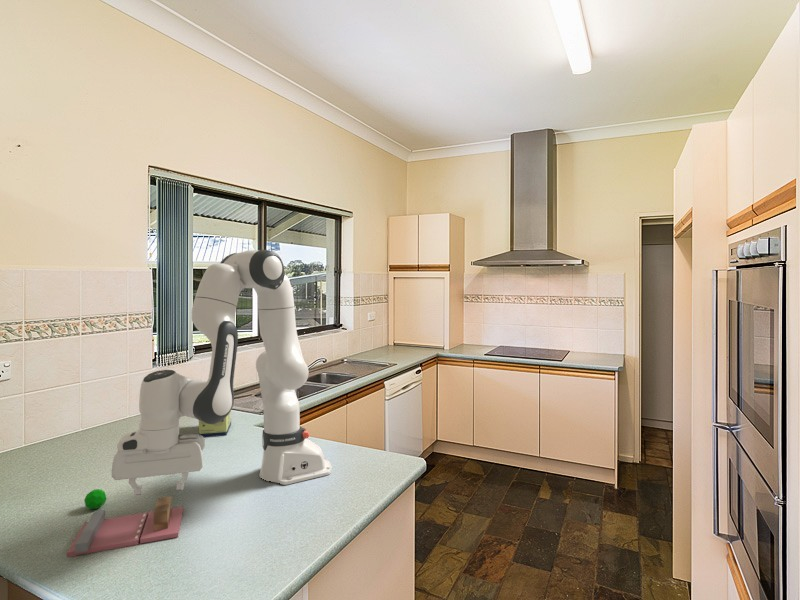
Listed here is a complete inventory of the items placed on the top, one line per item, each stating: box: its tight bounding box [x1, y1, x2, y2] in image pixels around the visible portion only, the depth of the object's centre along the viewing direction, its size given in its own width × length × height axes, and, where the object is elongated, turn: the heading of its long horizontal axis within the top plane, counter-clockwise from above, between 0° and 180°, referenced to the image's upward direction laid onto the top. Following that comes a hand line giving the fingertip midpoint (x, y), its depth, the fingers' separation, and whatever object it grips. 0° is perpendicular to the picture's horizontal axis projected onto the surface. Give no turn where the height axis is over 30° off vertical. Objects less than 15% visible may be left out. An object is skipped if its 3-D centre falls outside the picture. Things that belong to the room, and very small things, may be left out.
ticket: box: [66, 509, 149, 558], centre depth 113 cm, size 14×16×3 cm
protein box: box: [198, 410, 232, 438], centre depth 190 cm, size 10×16×16 cm
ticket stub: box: [139, 495, 184, 544], centre depth 116 cm, size 8×14×6 cm, turn 20°
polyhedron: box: [84, 488, 107, 510], centre depth 126 cm, size 5×5×5 cm
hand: (159, 491), depth 116 cm, fingers open, 8 cm apart
